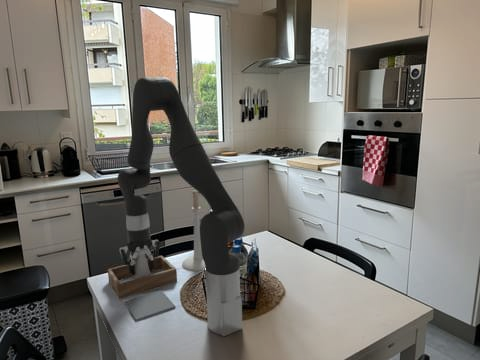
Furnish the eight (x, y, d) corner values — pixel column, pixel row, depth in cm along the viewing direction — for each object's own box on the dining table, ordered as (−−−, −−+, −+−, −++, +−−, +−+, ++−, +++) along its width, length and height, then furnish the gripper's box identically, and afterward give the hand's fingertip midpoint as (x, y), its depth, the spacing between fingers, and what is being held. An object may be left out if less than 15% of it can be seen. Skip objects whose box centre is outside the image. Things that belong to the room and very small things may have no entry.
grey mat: (175, 307, 106) (175, 306, 106) (136, 321, 100) (136, 319, 100) (161, 291, 116) (161, 289, 116) (124, 302, 110) (124, 301, 110)
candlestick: (196, 274, 128) (192, 195, 122) (175, 264, 136) (171, 190, 130) (221, 263, 137) (219, 188, 131) (200, 254, 145) (197, 184, 140)
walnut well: (177, 282, 122) (176, 268, 121) (119, 299, 112) (117, 285, 111) (162, 267, 134) (161, 255, 133) (108, 282, 123) (107, 269, 122)
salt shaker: (134, 287, 119) (131, 251, 117) (134, 279, 125) (131, 245, 122) (151, 284, 121) (148, 249, 118) (151, 277, 126) (148, 243, 124)
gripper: (119, 233, 112) (124, 281, 115) (162, 224, 119) (165, 270, 123) (113, 227, 118) (118, 273, 121) (154, 219, 125) (157, 263, 129)
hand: (142, 271), depth 122 cm, fingers open, 5 cm apart
